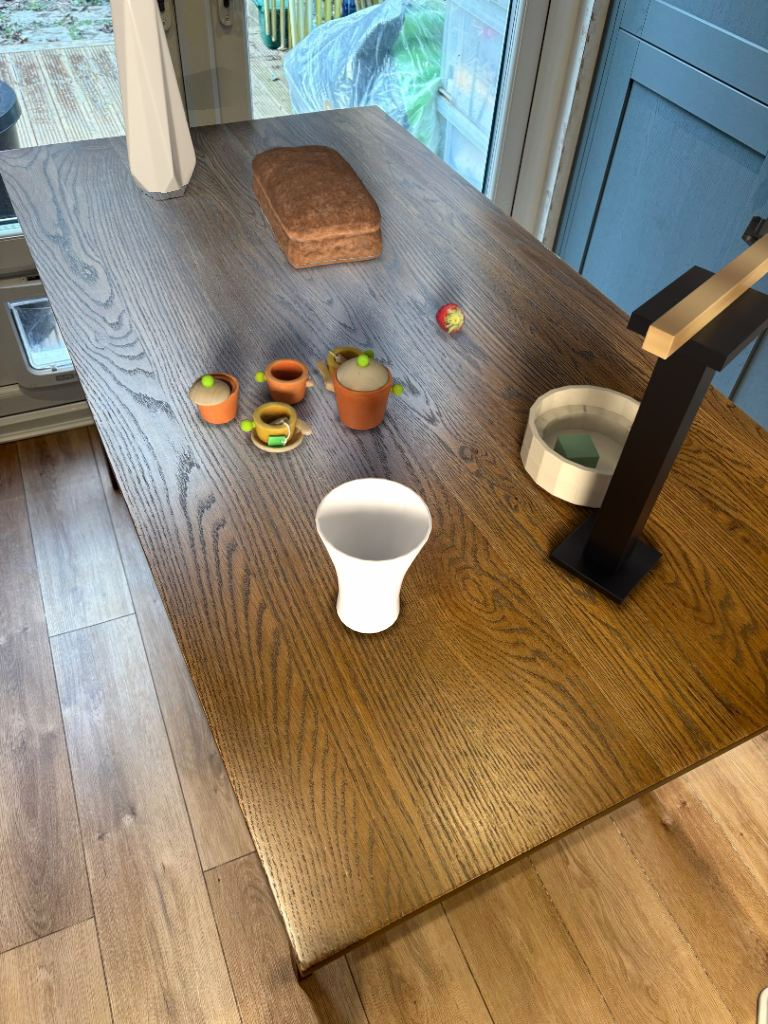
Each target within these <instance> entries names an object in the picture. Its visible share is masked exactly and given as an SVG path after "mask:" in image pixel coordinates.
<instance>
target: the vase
mask: <svg viewBox="0 0 768 1024" xmlns="http://www.w3.org/2000/svg"><path fill="white" fill-rule="evenodd" d="M109 9H110V16H111V24H112V31H113V33H112V34H113V41H114V49H115V58H116V65H117V75H118V82H119V90H120V99H121V107H122V108H121V109H122V114H123V123H124V124H123V125H124V132H125V141H126V149H127V157H128V165H129V172H130V174H131V176H132V178H133V179H134V181H135V184H136V185H137V187H138V188H139V187H140V188H142V189H144V190H146V191H148V192H161V193H167V192H171V191H175V190H179V189H181V187H182V186H184V185H186V184H188V185H189V183H190V181H191V178H192V176H193V173H194V169H195V167H196V164H197V157H196V153H195V147H194V144H193V140H192V135H191V131H190V127H189V122H188V120H187V115H186V111H185V107H184V103H183V99H182V96H181V92H180V88H179V84H178V78H177V74H176V71H175V67H174V63H173V58H172V55H171V50H170V47H169V42H168V39H167V34H166V31H165V26H164V23H163V19H162V15H161V11H160V7H159V2H158V0H109ZM140 188H139V189H140Z"/></svg>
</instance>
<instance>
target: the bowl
mask: <svg viewBox="0 0 768 1024" xmlns="http://www.w3.org/2000/svg"><path fill="white" fill-rule="evenodd" d="M640 403H641V401H639V400H637V399H635V398H633V397H632V396H630V395H627V394H624V393H622V392H619V391H616V390H614V389H611V388H607V387H601V386H596V385H589V384H577V385H576V384H574V385H573V384H572V385H564V386H561V387H556V388H552V389H550V390H549V391H547V392H545V393H543V394H541V395H540V396H538V397H537V399H536V400H535V401H534V403H533V404H531V407H530V408H529V411H528V416H527V419H526V424H525V427H524V431H523V436H522V439H521V445H520V451H519V452H520V453H519V456H520V459H521V461H522V465H523V468H524V470H525V471H526V472H527V474H528V475H529V476H530V477H531V479H532V480H533V481H534V483H535V484H537V485H538V486H539V487H540V488H542V489H543V490H545V491H546V492H548V493H549V494H551V496H554V497H556V498H558V499H561V500H563V501H565V502H568V503H571V504H573V505H577V506H583V507H588V508H593V509H600V507H601V504H602V502H603V499H604V496H605V494H606V491H607V489H608V486H609V483H610V481H611V478H612V476H613V473H614V471H615V468H616V465H617V463H618V460H619V458H620V455H621V452H622V450H623V447H624V445H625V442H626V440H627V437H628V434H629V432H630V429H631V427H632V424H633V421H634V419H635V416H636V414H637V411H638V408H639V406H640ZM585 434H589V435H590V437H591V439H592V441H593V443H594V445H595V447H596V450H597V452H598V454H599V456H600V457H599V460H598V463H597V466H596V469H594V468H588V467H585V466H582V465H580V464H577V463H575V462H572V461H570V460H567V459H565V458H564V457H562V456H561V455H559V454H558V453H556V452H555V451H554V447H555V443H556V440H557V437H558V436H564V435H585Z"/></svg>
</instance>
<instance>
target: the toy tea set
mask: <svg viewBox="0 0 768 1024" xmlns="http://www.w3.org/2000/svg"><path fill="white" fill-rule="evenodd" d="M374 358H375V352H374V351H373V349H370V348H368V349H365V350H364V351H363V350H362V349H360V348H358V347H355V346H351V345H350V346H349V345H345V346H344V345H343V346H338V347H335V348H333V349H332V350H328V354H327V357H326V361H327V363H326V361H325V360H323V359H319V360H316V362H315V366H316V369H317V370H318V372H319V373H320V374H321V376H322V379H323V383H324V388H325V390H327V391H329V392H332V393H334V396H335V400H336V406H337V411H338V417H339V420H340V421H341V423H342V424H343V425H344V426H346V427H348V428H350V429H352V430H357V431H367V430H368V431H369V430H371V429H375V428H376V427H378V426H379V425H380V424H381V423H382V422H383V419H384V416H385V411H386V409H387V406H388V405H387V404H388V401H389V397H390V393H392V394H393V395H394V396H396V397H399V396H402V395H403V393H404V386H403V385H402V384H400V383H394V384H393V375H392V372H391V371H390V369H389V368H388V367H387V366H386V365H385V364H383V363H382V362H380V361H378V360H377V359H374ZM309 372H310V371H309V367H308V366H307V365H306V364H305V363H304V362H303V361H301V360H299V359H295V358H291V357H290V358H289V357H288V358H287V357H286V358H285V357H284V358H278V359H275V360H272V361H270V362H269V363H268V364H267V365H266V367H265V369H264V371H263V370H258V371H257V372H255V374H254V379H255V381H256V382H258V383H261V384H262V383H264V382H266V383H267V386H268V391H269V394H270V397H271V399H272V400H273V401H268V402H265V403H263V404H260V405H259V406H257V407H256V408H255V409H254V411H253V413H252V419H253V420H251V419H249V418H245V419H243V420H241V421H240V429H241V430H242V431H243V432H247V433H248V432H250V439H251V441H252V444H254V446H256V448H259V449H260V450H263V451H264V452H268V453H284V452H288V451H289V452H290V451H291V450H293V449H295V448H297V447H299V446H300V444H302V442H303V440H304V438H305V436H310V435H311V434H313V426H312V425H310V424H309V423H308V422H306V421H304V420H302V419H301V418H299V417H298V414H297V411H296V409H295V408H294V407H293V406H291V405H296V404H298V403H300V402H301V401H302V400H303V399H304V398H305V396H306V392H307V388H310V387H314V386H315V380H314V379H313V378H309ZM239 396H240V382H239V380H238V379H237V378H236V377H235V376H234V375H232V374H230V373H226V372H219V371H216V372H215V371H214V372H208V373H205V374H203V375H201V376H198V377H197V378H196V379H195V380H194V381H193V383H192V385H191V386H190V388H189V390H188V398H189V400H190V401H191V402H192V403H194V404H196V405H197V408H198V410H199V413H200V416H201V417H202V419H203V420H204V421H205V422H208V423H210V424H213V425H222V424H226V423H229V422H231V421H232V420H234V419H235V418H236V417H237V413H238V407H239V406H238V405H239V398H240V397H239Z"/></svg>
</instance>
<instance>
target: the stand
mask: <svg viewBox="0 0 768 1024" xmlns="http://www.w3.org/2000/svg"><path fill="white" fill-rule="evenodd" d="M716 273H717V272H716ZM716 273H715V272H713V271H711V270H709V269H706V268H703V267H701V266H699V265H695V264H694V265H693V266H692V267H690V268H689V269H688V270H686V271H685V272H683V274H680V276H679V277H677V278H675V279H674V280H673V281H672V282H670V283H669V284H668V285H666V286H665V287H664V288H662V289H661V290H660V291H658V292H657V293H656V294H654V295H653V296H651V297H650V298H649V299H648V300H646V301H644V303H642V304H641V305H639V306H637V308H635V309H634V310H633V311H631V313H630V317H629V320H628V323H627V325H626V329H627V330H629V331H631V332H633V333H635V334H637V335H640V336H642V337H644V338H645V337H646V334H647V331H648V329H649V326H650V325H651V324H652V323H653V322H655V321H656V320H657V319H659V318H660V317H661V316H662V315H664V314H665V313H666V312H667V311H669V310H670V309H671V308H673V307H674V306H675V305H676V304H678V303H679V302H680V301H681V300H683V299H684V298H685V297H687V296H688V295H689V294H690V293H692V292H693V291H694V290H695V289H697V288H698V287H699V286H701V285H702V284H703V283H704V282H706V281H707V280H708V279H709V278H711V277H712V276H713V275H715V274H716ZM767 328H768V294H767V293H764V292H762V291H759V290H757V289H755V288H753V287H750V288H748V289H747V290H746V291H745V292H744V293H743V294H741V295H740V296H739V297H738V298H737V299H736V300H734V301H733V302H732V303H731V304H730V305H729V306H727V307H726V308H725V309H724V310H723V311H722V312H720V313H719V314H718V315H717V316H716V317H715V318H713V319H712V320H711V321H710V322H709V323H708V324H706V325H705V326H704V327H703V328H702V329H700V330H699V331H698V332H697V333H696V334H695V335H693V336H692V337H691V338H690V339H689V340H688V341H686V342H685V343H684V344H683V345H682V346H681V347H679V348H678V349H677V350H676V351H675V352H674V353H672V354H671V355H670V356H669V357H668V358H667V359H663V358H661V357H659V356H657V359H656V361H655V365H654V367H653V370H652V372H651V374H650V377H649V381H648V383H647V385H646V388H645V390H644V393H643V396H642V398H641V401H640V406H639V408H638V411H637V414H636V416H635V419H634V421H633V424H632V427H631V429H630V432H629V434H628V437H627V440H626V442H625V445H624V447H623V450H622V452H621V455H620V458H619V460H618V463H617V465H616V468H615V471H614V473H613V476H612V478H611V481H610V483H609V486H608V489H607V491H606V494H605V496H604V499H603V502H602V504H601V507H600V508H598V509H599V510H598V512H597V513H596V512H594V511H593V512H592V513H590V515H588V517H587V518H586V519H585V520H584V521H583V522H581V523H580V524H579V526H577V528H575V529H574V531H572V532H571V533H570V534H569V535H568V536H567V537H566V538H565V539H564V540H563V541H562V542H561V543H560V544H559V545H558V546H557V547H556V548H555V549H554V550H553V551H552V552H551V553H550V554H549V558H548V560H549V561H551V563H554V564H555V565H556V566H558V567H560V568H561V569H563V570H564V571H566V572H567V573H569V574H571V575H572V576H574V577H575V578H576V579H578V580H580V581H581V582H583V583H584V584H585V585H587V586H589V587H590V588H592V589H594V590H595V591H597V592H598V593H599V594H601V595H603V596H604V597H606V598H607V599H608V600H610V601H612V602H613V603H615V604H616V605H618V606H621V605H622V604H623V603H624V602H625V601H626V599H628V597H629V596H630V595H631V594H632V592H633V591H634V590H635V589H636V588H637V587H638V586H639V584H640V583H642V581H643V580H644V579H645V577H647V576H648V574H649V573H650V572H651V571H652V570H653V568H655V567H656V565H657V564H658V563H659V562H660V560H661V559H662V556H663V555H664V554H663V553H662V552H660V551H659V550H657V549H656V548H654V547H652V546H651V545H649V544H648V543H646V542H644V541H642V540H640V537H641V535H642V534H643V531H644V528H645V526H646V524H647V522H648V520H649V518H650V516H651V514H652V511H653V510H654V507H655V505H656V503H657V500H658V499H659V496H660V494H661V492H662V490H663V487H664V485H665V483H666V481H667V479H668V476H669V475H670V472H671V470H672V468H673V466H674V465H675V462H676V459H677V457H678V455H679V453H680V451H681V449H682V446H683V445H684V442H685V440H686V438H687V436H688V433H689V432H690V430H691V427H692V425H693V423H694V421H695V418H696V417H697V414H698V412H699V409H700V407H701V405H702V403H703V401H704V399H705V397H706V395H707V392H708V390H709V388H710V386H711V383H712V382H713V379H714V378H715V376H716V375H715V374H716V373H717V372H718V373H721V372H722V371H723V370H725V368H726V367H727V366H728V365H730V363H732V361H734V359H736V357H737V356H739V355H740V354H742V352H743V351H744V350H745V349H746V348H747V347H749V345H750V344H751V343H752V342H753V341H754V340H756V339H757V338H758V337H759V336H760V335H761V334H762V333H763V332H764V331H765V330H766V329H767Z"/></svg>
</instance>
